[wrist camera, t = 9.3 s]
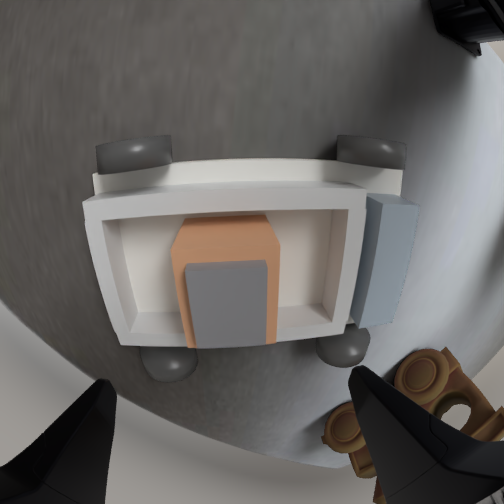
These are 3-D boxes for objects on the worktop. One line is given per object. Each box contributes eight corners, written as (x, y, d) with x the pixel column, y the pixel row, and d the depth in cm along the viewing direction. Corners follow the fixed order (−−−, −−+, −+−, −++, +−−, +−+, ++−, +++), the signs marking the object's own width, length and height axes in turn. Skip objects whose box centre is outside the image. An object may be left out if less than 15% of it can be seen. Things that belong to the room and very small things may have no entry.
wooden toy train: (437, 322, 25) (517, 422, 10) (453, 356, 29) (508, 433, 14) (308, 419, 29) (339, 530, 14) (348, 434, 33) (378, 517, 18)
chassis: (396, 143, 17) (434, 149, 13) (366, 327, 23) (386, 358, 19) (96, 147, 15) (62, 153, 11) (136, 343, 21) (125, 379, 17)
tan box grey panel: (265, 214, 17) (284, 251, 12) (264, 296, 19) (278, 352, 14) (185, 218, 16) (167, 257, 11) (194, 299, 19) (186, 357, 14)
